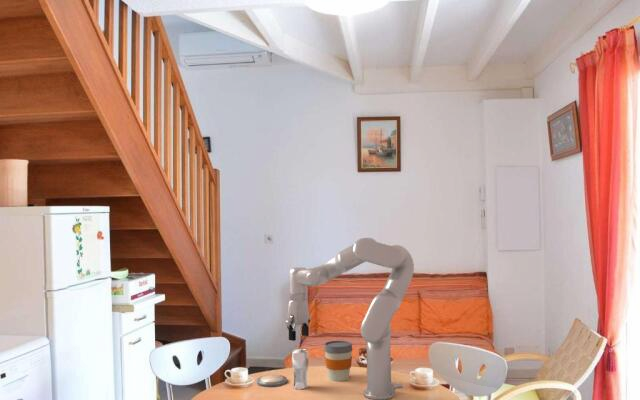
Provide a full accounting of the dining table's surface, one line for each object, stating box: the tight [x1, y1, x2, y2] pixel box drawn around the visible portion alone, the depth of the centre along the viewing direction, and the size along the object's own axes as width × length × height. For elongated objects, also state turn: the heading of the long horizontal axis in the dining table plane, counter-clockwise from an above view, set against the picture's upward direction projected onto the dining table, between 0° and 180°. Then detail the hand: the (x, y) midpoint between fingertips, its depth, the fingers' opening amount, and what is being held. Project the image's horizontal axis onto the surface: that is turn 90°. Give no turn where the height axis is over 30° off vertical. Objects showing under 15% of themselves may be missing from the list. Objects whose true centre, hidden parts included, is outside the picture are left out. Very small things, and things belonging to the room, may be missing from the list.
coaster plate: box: [256, 374, 288, 388], centre depth 215 cm, size 13×13×2 cm
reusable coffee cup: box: [323, 340, 353, 382], centre depth 219 cm, size 13×13×15 cm
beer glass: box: [291, 348, 309, 390], centre depth 208 cm, size 7×7×15 cm
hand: (298, 337), depth 209 cm, fingers open, 9 cm apart
